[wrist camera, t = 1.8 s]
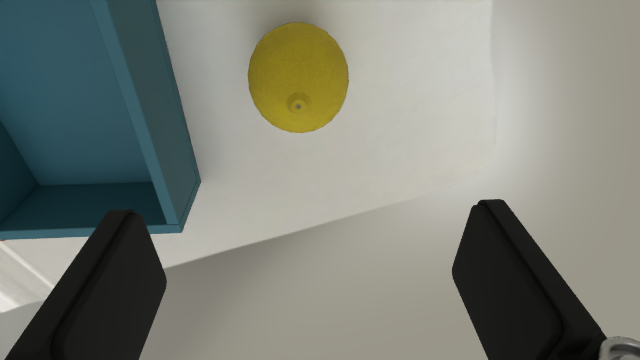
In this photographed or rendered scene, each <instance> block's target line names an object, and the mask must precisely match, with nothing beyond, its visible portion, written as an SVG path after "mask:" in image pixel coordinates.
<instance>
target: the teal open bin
mask: <svg viewBox="0 0 640 360" xmlns="http://www.w3.org/2000/svg"><path fill="white" fill-rule="evenodd" d="M200 183H201V181H200V177H199V173H198V169H197V165H196V161H195V157H194V153H193V149H192V145H191V141H190V137H189V133H188V129H187V125H186V121H185V117H184V113H183V109H182V105H181V101H180V97H179V93H178V89H177V85H176V81H175V77H174V73H173V69H172V65H171V61H170V57H169V53H168V49H167V45H166V42H165V38H164V34H163V30H162V26H161V22H160V18H159V14H158V10H157V6H156V2H155V0H0V240H12V239H37V238H62V237H87V236H91V234H92V233H93V231H94V230H95V229H96V227H97V226H98V224H99V223H100V221H101V220H102V219H103V217H104V216H105V214H106V213H107V212H108V211H109V210H117V209H133V210H134V211H136V213H137V214H141V215H142V217H143V219H144V221H145V224H146V226H147V229H148V232H149V234H162V233H181V232H182V231H183V228H184V225H185V223H186V220H187V217H188V215H189V212H190V210H191V207H192V204H193V202H194V199H195V196H196V194H197V191H198V188H199V186H200Z"/></svg>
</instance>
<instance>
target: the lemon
mask: <svg viewBox="0 0 640 360" xmlns="http://www.w3.org/2000/svg"><path fill="white" fill-rule="evenodd" d="M248 82H249V90H250V93H251V96H252V99H253V101H254V104H255V106H256V107H257V109H258V110H259V112H260V113H261V115H262V116H263V117H264V118H265V119H266V120H267V121H269V122H270V123H271V124H272V125H274V126H276V127H278V128H279V129H281V130H285V131H288V132H294V133H305V132H310V131H314V130H316V129H319V128H321V127H323V126H324V125H326V124H327V123H328V122H330V121H331V120H332V119H333V118H334V117H335V115H336V114H337V113H338V112H339V110H340V108H341V106H342V104H343V102H344V100H345V98H346V93H347V88H348V83H349V79H348V66H347V63H346V60H345V57H344V54H343V52H342V50H341V48H340V47H339V45H338V44H337V42H336V41H335V40H334V39H333V38H332V37H331V36H330V35H329V34H328V33H327V32H326V31H324V30H322V29H320V28H318V27H316V26H314V25H311V24H306V23H302V22H298V23H287V24H284V25H281V26H279V27H276V28H275V29H273V30H272V31H270V32H269V33H267V34H266V35H265V36H264V37H263V38H262V39H261V41H260V42H259V43H258V44H257V45H256V48H255V50H254V52H253V54H252V56H251V59H250V64H249V70H248Z"/></svg>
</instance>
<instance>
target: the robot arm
mask: <svg viewBox="0 0 640 360" xmlns="http://www.w3.org/2000/svg"><path fill="white" fill-rule="evenodd" d="M452 276H453V279H454V282H455V284H456V286H457V288H458V291H459V293H460V296H461V298H462V300H463V302H464V305H465V307H466V309H467V311H468V314H469V316H470V319H471V321H472V323H473V325H474V328H475V330H476V332H477V334H478V337H479V339H480V341H481V344H482V346H483V348H484V351H485V353H486V355H487V357H488V360H640V342H639V341H636V340H633V339H631V338H625V337H619V336H618V337H611V338H608V339H607V337H606V336H605V335H604V333H603V332H602V331H601V328H600V327H599V326H598V324H597V323H596V322H595V321H594V319H593V318H592V316H591V315H590V314H589V312H588V311H587V310H586V309H585V307H584V306H583V305H582V303H581V302H580V301H579V299H578V298H577V297H576V295H575V294H574V293H573V291H572V290H571V289H570V287H569V286H568V285H567V283H566V282H565V281H564V279H563V278H562V277H561V275H560V274H559V273H558V271H557V270H556V269H555V267H554V266H553V265H552V263H551V262H550V261H549V259H548V258H547V257H546V256H545V254H544V253H543V252H542V250H541V249H540V247H539V246H538V245H537V244H536V242H535V241H534V240H533V238H532V237H531V236H530V234H529V233H528V232H527V230H526V229H525V228H524V226H523V225H522V224H521V222H520V221H519V220H518V218H517V217H516V216H515V214H514V213H513V212H512V211H511V209H510V208H509V206H508V205H507V204H506V203H505V201H503V200H500V199H494V200H480V201H479V202H478V204H477V205H474V206H473V207H472V208H471V211H470V214H469V217H468V220H467V223H466V227H465V230H464V233H463V236H462V239H461V242H460V245H459V248H458V251H457V254H456V257H455V260H454V264H453V267H452ZM166 283H167V280H166V275H165V273H164V270H163V268H162V265H161V262H160V260H159V257H158V255H157V252H156V250H155V247H154V244H153V242H152V239H151V237H150V234H149V232H148V229H147V226H146V224H145V221H144V219H143V217H142V215H141V214H137V213H136V211H134V210H133V209H117V210H109V211H108V212H107V213H106V214H105V216H104V217H103V219H102V220H101V221H100V223H99V224H98V226H97V227H96V229H95V230H94V231H93V233H92V234H91V236H90V237H89V239H88V240H87V241H86V243H85V244H84V246H83V247H82V249H81V250H80V252H79V253H78V254H77V256H76V257H75V259H74V260H73V262H72V263H71V264H70V266H69V267H68V269H67V270H66V272H65V273H64V274H63V276H62V277H61V279H60V280H59V282H58V283H57V284H56V286H55V287H54V289H53V290H52V292H51V293H50V295H49V296H48V297H47V299H46V300H45V302H44V303H43V305H42V306H41V307H40V309H39V311H38V312H37V313H36V315H35V316H34V317H33V319H32V320H31V322H30V323H29V325H28V326H27V328H26V329H25V330H24V332H23V333H22V335H21V336H20V338H19V339H18V340H17V342H16V343H15V345H14V346H13V348H12V349H11V351H10V352H9V354H8V355H7V357H6V358H5V360H139V357H140V355H141V352H142V349H143V347H144V344H145V341H146V339H147V336H148V334H149V331H150V328H151V326H152V323H153V320H154V318H155V315H156V313H157V310H158V307H159V305H160V302H161V299H162V297H163V294H164V292H165V289H166Z"/></svg>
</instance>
